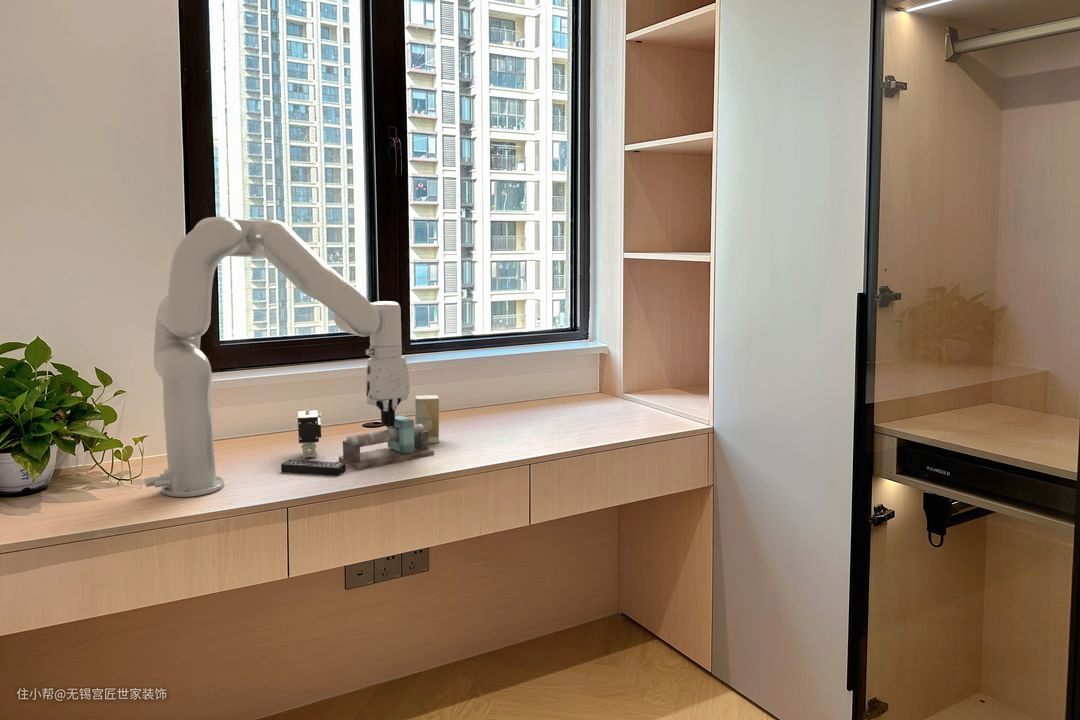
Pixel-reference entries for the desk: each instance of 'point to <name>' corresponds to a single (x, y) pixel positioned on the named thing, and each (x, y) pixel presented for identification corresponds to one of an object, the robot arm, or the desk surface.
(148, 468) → the desk surface
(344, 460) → the pipe stand
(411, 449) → the collar
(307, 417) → the pneumatic valve
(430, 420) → the skincare box
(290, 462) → the multiport hub
